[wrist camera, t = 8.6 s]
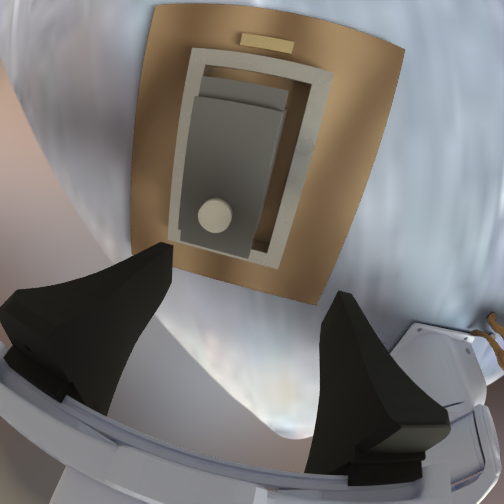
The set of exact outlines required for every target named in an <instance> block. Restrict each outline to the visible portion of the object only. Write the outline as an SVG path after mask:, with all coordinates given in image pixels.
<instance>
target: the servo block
mask: <svg viewBox="0 0 504 504" xmlns="http://www.w3.org/2000/svg"><path fill="white" fill-rule="evenodd" d="M288 93H289V91H287V90H282V89H278V88H273V87H269V86H264V85H258V84H253V83H248V82H242V81H236V80H229V79H222V78H214V77H206V76H202V79H201V84H200V89H199V95H198V96H194V102H193V108H192V114H191V120H190V127H189V133H188V140H187V147H186V155H185V163H184V171H183V180H182V189H181V199H180V209H179V221H178V230H181V235H180V241H183V242H187V243H190V244H194V245H198V246H202V247H205V248H209V249H213V250H216V251H220V252H224V253H228V254H231V255H235V256H239V257H243V258H246V259H248V258H249V255H250V252H251V248H252V243H253V239H254V236H255V233H256V230H257V227H258V224H259V221H260V218H261V215H262V213H263V209H264V205H265V201H266V197H267V193H268V189H269V184H270V180H271V176H272V172H273V168H274V164H275V160H276V156H277V152H278V148H279V143H280V139H281V135H282V131H283V127H284V123H285V119H286V115H287V111H288V108H285V106H286V102H287V97H288Z"/></svg>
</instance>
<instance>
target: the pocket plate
mask: <svg viewBox="0 0 504 504" xmlns="http://www.w3.org/2000/svg"><path fill="white" fill-rule="evenodd" d="M404 53H405V49H403V48H401V47H399V46H396V45H394V44H392V43H389V42H387V41H384V40H382V39H379V38H377V37H374V36H371V35H369V34H366V33H363V32H360V31H357V30H354V29H351V28H348V27H345V26H342V25H338V24H335V23H331V22H328V21H324V20H320V19H316V18H312V17H308V16H303V15H299V14H294V13H289V12H283V11H277V10H271V9H264V8H257V7H248V6H238V5H225V4H163V5H156V7H155V11H154V14H153V18H152V23H151V27H150V31H149V36H148V41H147V45H146V50H145V56H144V61H143V67H142V73H141V79H140V86H139V93H138V101H137V109H136V118H135V128H134V140H133V154H132V173H131V247H132V255H136V254H137V253H139V252H141V251H143V250H145V249H147V248H149V247H151V246H153V245H155V244H157V243H159V242H164V243H167V244H171V245H174V248H173V265H172V267H175V268H178V269H182V270H185V271H189V272H192V273H195V274H199V275H202V276H206V277H210V278H213V279H217V280H220V281H224V282H227V283H231V284H235V285H238V286H242V287H246V288H250V289H253V290H257V291H261V292H265V293H269V294H272V295H276V296H280V297H284V298H288V299H292V300H296V301H300V302H304V303H308V304H312V305H317V303H318V301H319V299H320V297H321V294H322V292H323V290H324V288H325V286H326V283H327V281H328V279H329V277H330V274H331V272H332V270H333V268H334V265H335V263H336V261H337V258H338V256H339V254H340V251H341V249H342V246H343V244H344V242H345V239H346V237H347V234H348V232H349V229H350V227H351V224H352V222H353V219H354V216H355V214H356V211H357V209H358V206H359V203H360V201H361V198H362V195H363V192H364V190H365V187H366V184H367V181H368V178H369V175H370V173H371V170H372V167H373V164H374V161H375V158H376V155H377V152H378V149H379V145H380V142H381V139H382V136H383V133H384V129H385V126H386V123H387V119H388V116H389V112H390V109H391V105H392V102H393V98H394V94H395V90H396V87H397V83H398V79H399V75H400V70H401V66H402V62H403V58H404ZM202 76H206V77H214V78H222V79H229V80H236V81H242V82H248V83H253V84H258V85H264V86H269V87H273V88H278V89H282V90H287V91H289V93H288V97H287V102H286V106H285V108H288V111H287V115H286V119H285V123H284V127H283V131H282V135H281V139H280V143H279V148H278V152H277V156H276V160H275V164H274V168H273V172H272V176H271V180H270V184H269V189H268V193H267V197H266V201H265V205H264V209H263V213H262V215H261V218H260V221H259V224H258V227H257V230H256V233H255V236H254V239H253V243H252V248H251V252H250V255H249V258H248V259H246V258H243V257H239V256H235V255H231V254H228V253H224V252H220V251H216V250H213V249H209V248H205V247H202V246H198V245H194V244H190V243H187V242H183V241H180V235H181V230H178V221H179V209H180V199H181V189H182V180H183V171H184V163H185V155H186V147H187V140H188V133H189V127H190V120H191V114H192V108H193V102H194V96H198V95H199V89H200V84H201V79H202Z"/></svg>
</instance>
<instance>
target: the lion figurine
mask: <svg viewBox="0 0 504 504" xmlns="http://www.w3.org/2000/svg"><path fill="white" fill-rule="evenodd" d="M496 318H497V317H496V314H495V313H492V314H490V316H489V317H488V320H487V321H488V323H489V325H490V326H491V327H492V329H493V330H494V331H495V332H497V333H499V334H500V335H501V336H502V338H503V340H504V328H503V327H502V326H500V325H499V324H498V323H497V322H496ZM470 335H471V336H481V337H484V338H486V339H487V341H488V342H489V344H490V346H491V347H492V348H493V350H494V352H495V355H496V357H497V361H498V364H499V366H500V367H501V368H502V370H503V371H504V351H503V350H502V349H501V347H500V346H499V345H498V343H497V342H496V341H495V340H494V339H495V335H494V334H491V335H488V334H487V333H485V332H482V331H479V330H477V329H476V330H473V331H471V332H470Z"/></svg>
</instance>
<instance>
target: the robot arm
mask: <svg viewBox="0 0 504 504" xmlns="http://www.w3.org/2000/svg"><path fill="white" fill-rule="evenodd" d="M173 248H174V245H171V244H167V243H164V242H159V243H157V244H155V245H153V246H151V247H149V248H147V249H145V250H143V251H141V252H139V253H137V254H136V255H134V256H132V257H130V258H128V259H126V260H124V261H122V262H119V263H117V264H115V265H113V266H111V267H109V268H107V269H104V270H102V271H99V272H97V273H94V274H91V275H88V276H86V277H83V278H79V279H76V280H72V281H69V282H65V283H61V284H56V285H51V286H46V287H39V288H30V289H19V290H16V291H15V292H14V293H13V294H12V295H11V296H10V297H9V298H8V300H7V301H5V303H4V304H3V305H2V306H1V307H0V322H1V324H2V326H3V328H4V330H5V332H6V334H7V335H8V337H9V339H10V341H11V343H12V344H13V346H12V347H11V348H10V350H9V349H8V348H7V347H6V346H5V345H4V344H3V343H2V342H1V341H0V416H1V417H2V418H4V419H5V420H6V421H7V422H8V423H9V424H10V425H12V426H13V427H14V428H15V429H16V430H17V431H19V432H20V433H21V434H22V435H24V436H25V437H26V438H27V439H29V440H30V441H32V442H33V443H34V444H35V445H37V446H38V447H39V448H41V449H42V450H44V451H45V452H46V453H48V454H49V455H51V456H52V457H54V458H55V459H57V460H58V461H60V462H61V463H63V464H64V465H66V468H65V470H64V472H63V474H62V476H61V478H60V481H59V483H58V485H57V487H56V490H55V492H54V494H53V496H52V499H51V501H50V503H49V504H479V503H480V502H481V501H482V500H483V498H484V497H485V496H486V495H487V494H488V493H489V491H490V490H491V489H492V488H493V487H494V485H495V484H496V482H497V481H498V479H499V474H500V472H501V462H500V451H499V444H498V439H497V434H496V430H495V426H494V423H493V420H492V417H491V414H490V411H489V409H488V407H487V406H484V402H485V399H486V382H485V379H484V376H483V373H482V371H481V368H480V365H479V363H478V360H477V358H476V355H475V353H474V350H473V348H472V345H471V343H472V341H473V340H474V339H475V336H471V335H470V333H465V332H459V331H454V330H449V329H444V328H440V327H435V326H430V325H425V324H420V323H414V324H412V325H411V326H410V328H409V329H408V331H407V332H406V333H405V335H404V336H403V337H402V339H401V340H400V341H399V343H398V344H397V345H396V346H395V348H394V349H393V350H392V351H391V353H390V354H389V352H388V351H387V350H386V348H385V347H384V345H383V344H382V342H381V341H380V339H379V338H378V336H377V335H376V333H375V332H374V330H373V329H372V327H371V325H370V324H369V322H368V320H367V319H366V317H365V315H364V314H363V312H362V310H361V308H360V307H359V305H358V303H357V302H356V300H355V298H354V297H353V295H352V294H350V293H346V292H342V291H338V293H337V295H336V297H335V299H334V301H333V303H332V305H331V307H330V308H329V310H328V312H327V314H326V316H325V318H324V320H323V322H322V324H321V333H320V343H319V353H320V396H319V404H318V412H317V418H316V424H315V430H314V435H313V440H312V444H311V449H310V453H309V457H308V461H307V465H306V468H305V472H304V473H297V472H289V471H281V470H275V469H269V468H263V467H257V466H252V465H247V464H242V463H237V462H233V461H228V460H224V459H220V458H216V457H213V456H209V455H205V454H202V453H198V452H195V451H192V450H188V449H185V448H182V447H179V446H176V445H173V444H170V443H167V442H165V441H162V440H159V439H156V438H154V437H152V436H149V435H146V434H144V433H142V432H139V431H137V430H134V429H132V428H130V427H128V426H125V425H123V424H121V423H119V422H116V421H114V420H112V419H110V418H108V417H107V413H108V410H109V407H110V404H111V401H112V398H113V395H114V392H115V390H116V387H117V384H118V382H119V379H120V377H121V374H122V372H123V369H124V367H125V365H126V363H127V360H128V358H129V356H130V354H131V352H132V350H133V347H134V345H135V343H136V342H137V340H138V338H139V336H140V335H141V333H142V332H143V330H144V329H145V327H146V326H147V324H148V322H149V321H150V319H151V318H152V316H153V315H154V313H155V312H156V310H157V309H158V307H159V306H160V304H161V303H162V301H163V299H164V297H165V295H166V293H167V291H168V289H169V287H170V285H171V283H172V265H173ZM115 443H116V444H118V445H120V446H119V447H117V446H116V444H115ZM482 470H484V471H483V472H482V473H480V474H479V475H477V476H475V477H473V478H471V479H469V480H466V481H464V482H462V483H459V484H457V485H454V486H452V487H451V484H452V483H455V482H457V481H460V480H462V479H465V478H467V477H469V476H472V475H474V474H476V473H478V472H480V471H482ZM266 489H269V490H276V492H269V491H267V490H266Z"/></svg>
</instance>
